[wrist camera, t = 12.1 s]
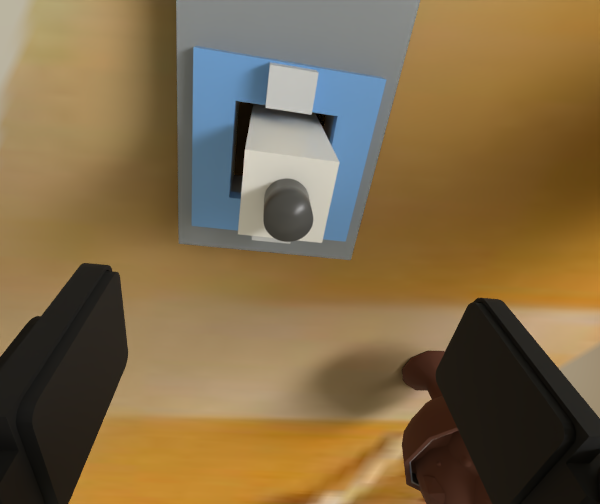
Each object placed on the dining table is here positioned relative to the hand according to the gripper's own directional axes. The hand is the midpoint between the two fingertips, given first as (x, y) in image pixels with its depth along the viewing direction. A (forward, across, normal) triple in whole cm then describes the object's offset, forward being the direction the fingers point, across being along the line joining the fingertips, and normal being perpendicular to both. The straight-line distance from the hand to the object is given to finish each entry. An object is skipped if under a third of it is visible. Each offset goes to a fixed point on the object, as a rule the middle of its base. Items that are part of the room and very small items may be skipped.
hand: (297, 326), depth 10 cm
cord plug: (+18, 0, 0) cm, 18 cm away
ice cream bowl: (+18, -18, +21) cm, 33 cm away
